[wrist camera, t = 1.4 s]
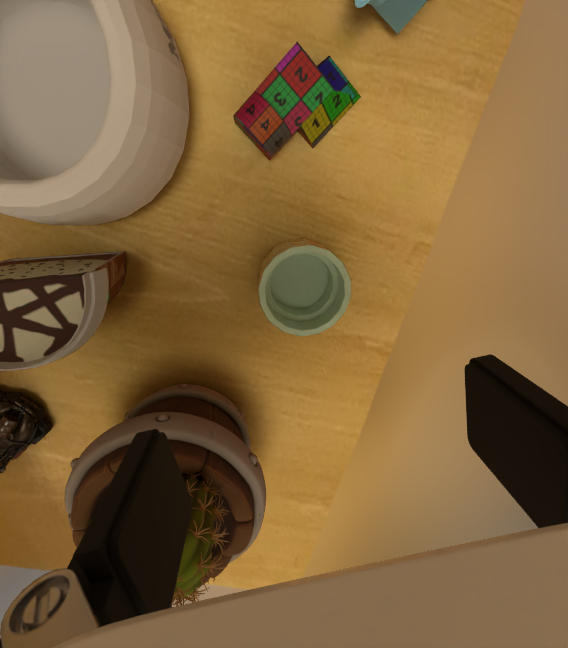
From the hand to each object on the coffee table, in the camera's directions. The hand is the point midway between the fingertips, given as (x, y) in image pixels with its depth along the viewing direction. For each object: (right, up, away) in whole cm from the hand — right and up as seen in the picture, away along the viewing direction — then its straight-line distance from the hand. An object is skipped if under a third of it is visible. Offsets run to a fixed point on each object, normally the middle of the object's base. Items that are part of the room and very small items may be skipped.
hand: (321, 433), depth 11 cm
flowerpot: (-10, -7, +26) cm, 28 cm away
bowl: (0, +7, +21) cm, 22 cm away
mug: (-16, +22, +15) cm, 31 cm away
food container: (-19, +6, +20) cm, 28 cm away
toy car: (-29, -7, +24) cm, 38 cm away
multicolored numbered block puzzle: (0, +20, +17) cm, 26 cm away
